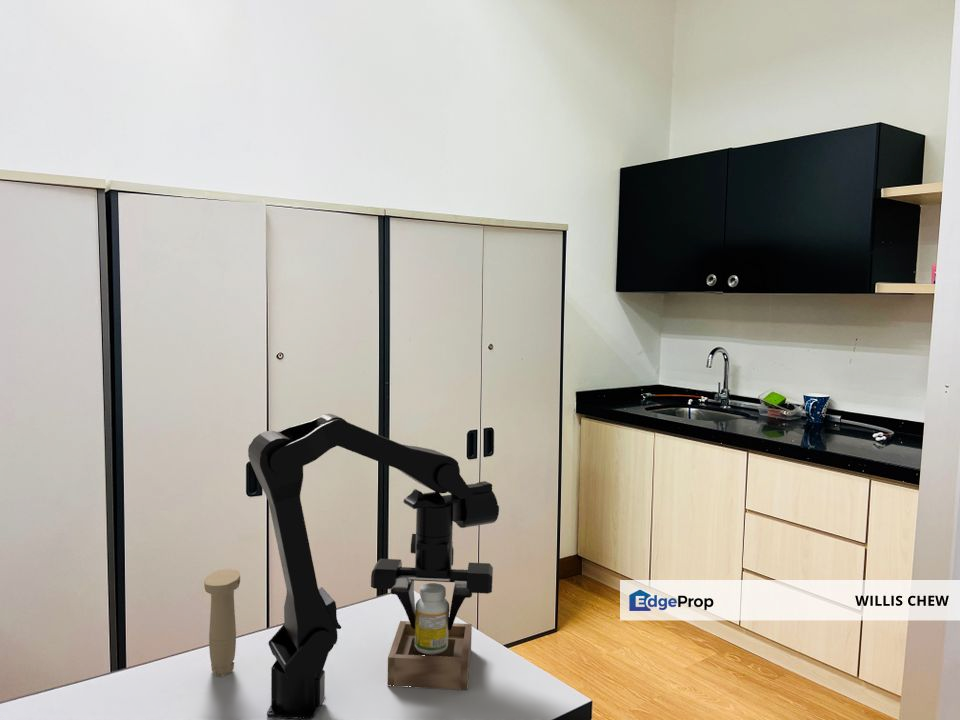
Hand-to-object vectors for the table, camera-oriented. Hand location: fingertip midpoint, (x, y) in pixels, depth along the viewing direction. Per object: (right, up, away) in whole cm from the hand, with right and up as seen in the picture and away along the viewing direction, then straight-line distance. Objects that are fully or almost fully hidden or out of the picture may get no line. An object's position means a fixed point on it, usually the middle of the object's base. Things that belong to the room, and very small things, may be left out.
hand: (431, 628), depth 108 cm
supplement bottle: (0, -3, 0) cm, 3 cm away
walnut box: (0, -6, +1) cm, 6 cm away
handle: (-32, -6, -2) cm, 33 cm away
